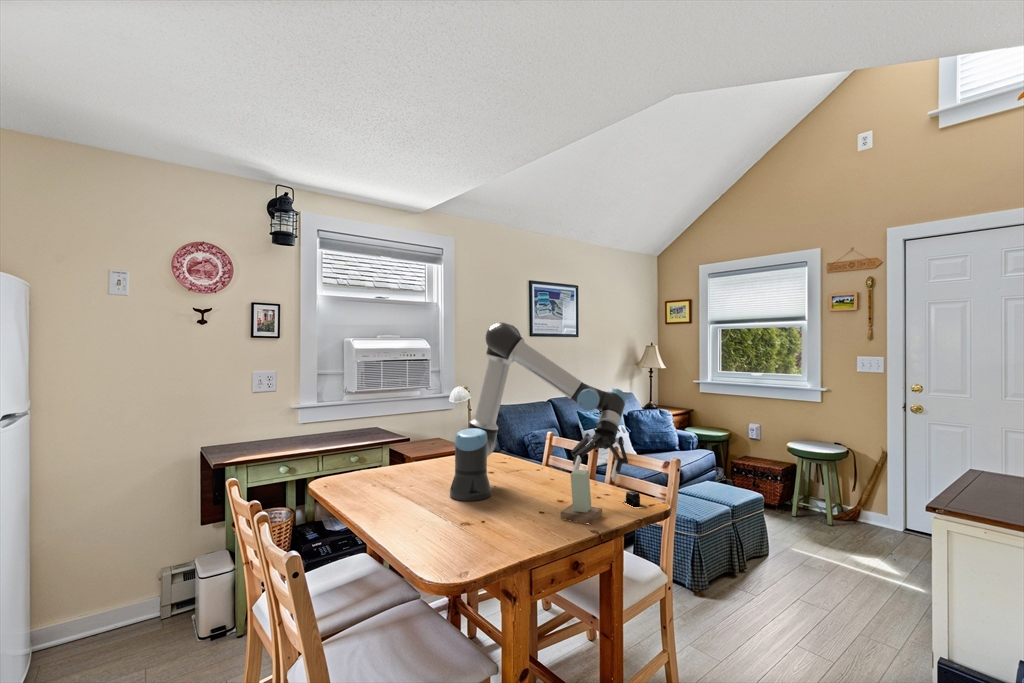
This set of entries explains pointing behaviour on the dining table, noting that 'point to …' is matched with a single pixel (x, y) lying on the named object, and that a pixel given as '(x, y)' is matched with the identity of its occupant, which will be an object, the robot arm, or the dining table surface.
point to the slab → (581, 515)
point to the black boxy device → (633, 499)
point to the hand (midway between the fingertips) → (593, 476)
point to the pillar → (581, 490)
